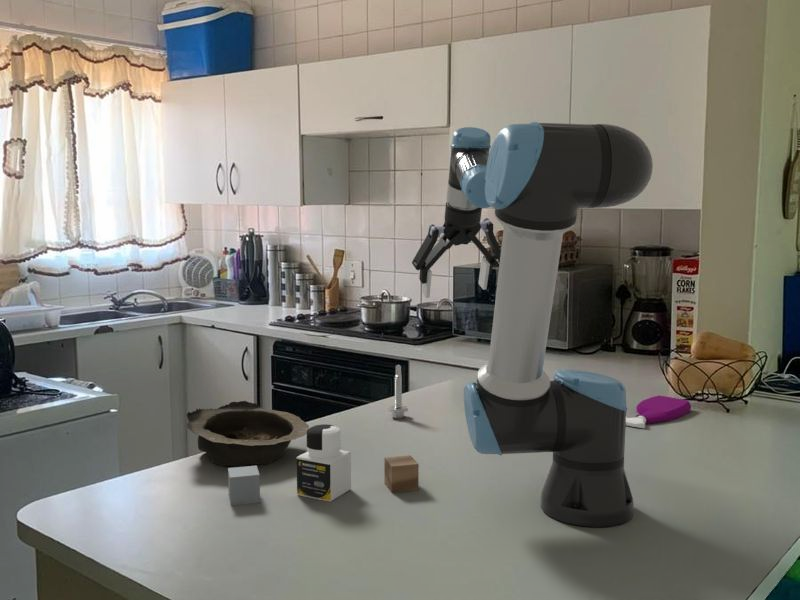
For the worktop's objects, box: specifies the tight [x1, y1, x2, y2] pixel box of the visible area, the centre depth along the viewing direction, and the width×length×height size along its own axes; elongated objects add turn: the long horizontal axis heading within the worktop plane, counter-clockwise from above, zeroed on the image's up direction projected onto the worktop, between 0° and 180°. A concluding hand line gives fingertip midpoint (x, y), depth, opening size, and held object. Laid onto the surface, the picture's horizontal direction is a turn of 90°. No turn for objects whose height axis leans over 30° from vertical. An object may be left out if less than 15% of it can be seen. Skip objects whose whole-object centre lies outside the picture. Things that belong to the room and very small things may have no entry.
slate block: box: [227, 465, 261, 506], centre depth 137 cm, size 5×5×5 cm
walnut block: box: [383, 455, 420, 494], centre depth 143 cm, size 5×5×5 cm
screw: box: [387, 364, 409, 419], centre depth 189 cm, size 13×5×5 cm
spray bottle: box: [626, 395, 692, 429], centre depth 190 cm, size 3×11×24 cm
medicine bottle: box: [296, 423, 352, 502], centre depth 139 cm, size 7×7×12 cm
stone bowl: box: [186, 400, 310, 468], centre depth 160 cm, size 25×25×9 cm
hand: (454, 290), depth 173 cm, fingers open, 13 cm apart
